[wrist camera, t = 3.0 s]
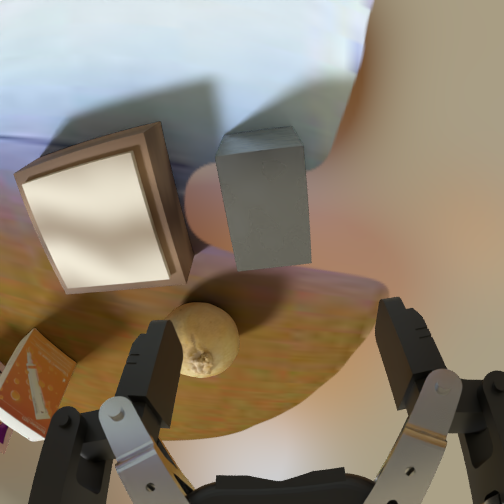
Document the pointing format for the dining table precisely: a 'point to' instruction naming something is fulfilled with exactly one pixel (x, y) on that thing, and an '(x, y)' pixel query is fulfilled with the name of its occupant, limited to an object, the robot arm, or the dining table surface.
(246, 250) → the block
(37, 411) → the small box
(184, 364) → the onion
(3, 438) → the greeting card
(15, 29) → the dining table surface
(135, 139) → the stand
